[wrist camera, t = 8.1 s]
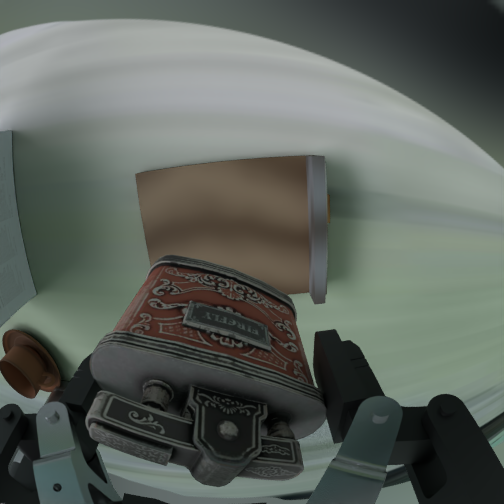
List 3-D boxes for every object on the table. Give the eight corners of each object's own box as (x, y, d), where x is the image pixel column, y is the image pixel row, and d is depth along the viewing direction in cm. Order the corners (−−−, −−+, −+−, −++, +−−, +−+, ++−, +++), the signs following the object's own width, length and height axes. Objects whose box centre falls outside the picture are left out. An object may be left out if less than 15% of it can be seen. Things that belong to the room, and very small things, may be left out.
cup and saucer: (38, 320, 30) (15, 345, 24) (78, 385, 34) (62, 413, 28) (-2, 326, 30) (-22, 346, 25) (33, 383, 34) (18, 405, 29)
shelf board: (321, 285, 29) (330, 302, 26) (162, 298, 29) (153, 316, 25) (319, 155, 25) (330, 155, 21) (139, 172, 24) (125, 176, 21)
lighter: (305, 293, 15) (369, 457, 6) (279, 341, 16) (308, 502, 7) (158, 241, 14) (49, 382, 4) (144, 296, 15) (63, 447, 5)
